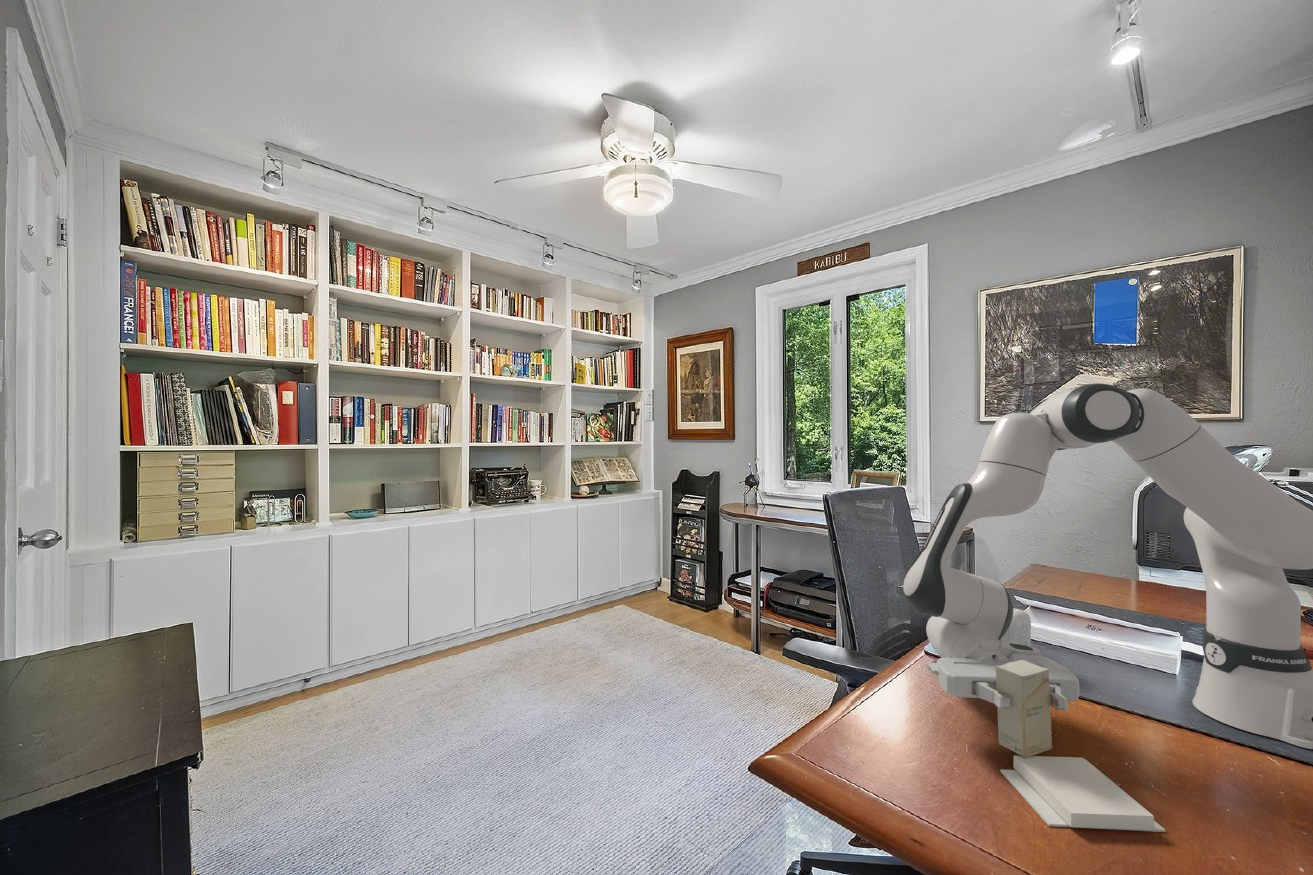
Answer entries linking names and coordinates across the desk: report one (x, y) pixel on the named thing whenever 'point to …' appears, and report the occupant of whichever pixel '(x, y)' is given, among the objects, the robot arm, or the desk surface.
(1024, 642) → the grey rounded block
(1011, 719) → the skincare box
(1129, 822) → the tile
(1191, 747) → the desk surface
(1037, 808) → the mat
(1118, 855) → the desk surface
